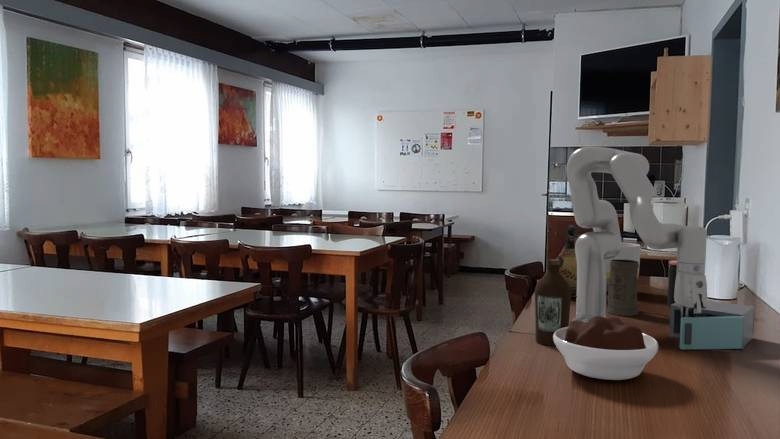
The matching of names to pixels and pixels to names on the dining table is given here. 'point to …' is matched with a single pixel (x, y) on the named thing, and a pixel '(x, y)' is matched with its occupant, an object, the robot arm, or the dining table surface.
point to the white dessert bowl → (605, 348)
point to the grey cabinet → (716, 311)
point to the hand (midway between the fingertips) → (687, 329)
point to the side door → (712, 332)
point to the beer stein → (623, 287)
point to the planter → (624, 257)
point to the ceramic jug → (569, 260)
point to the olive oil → (551, 304)
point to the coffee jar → (671, 281)
